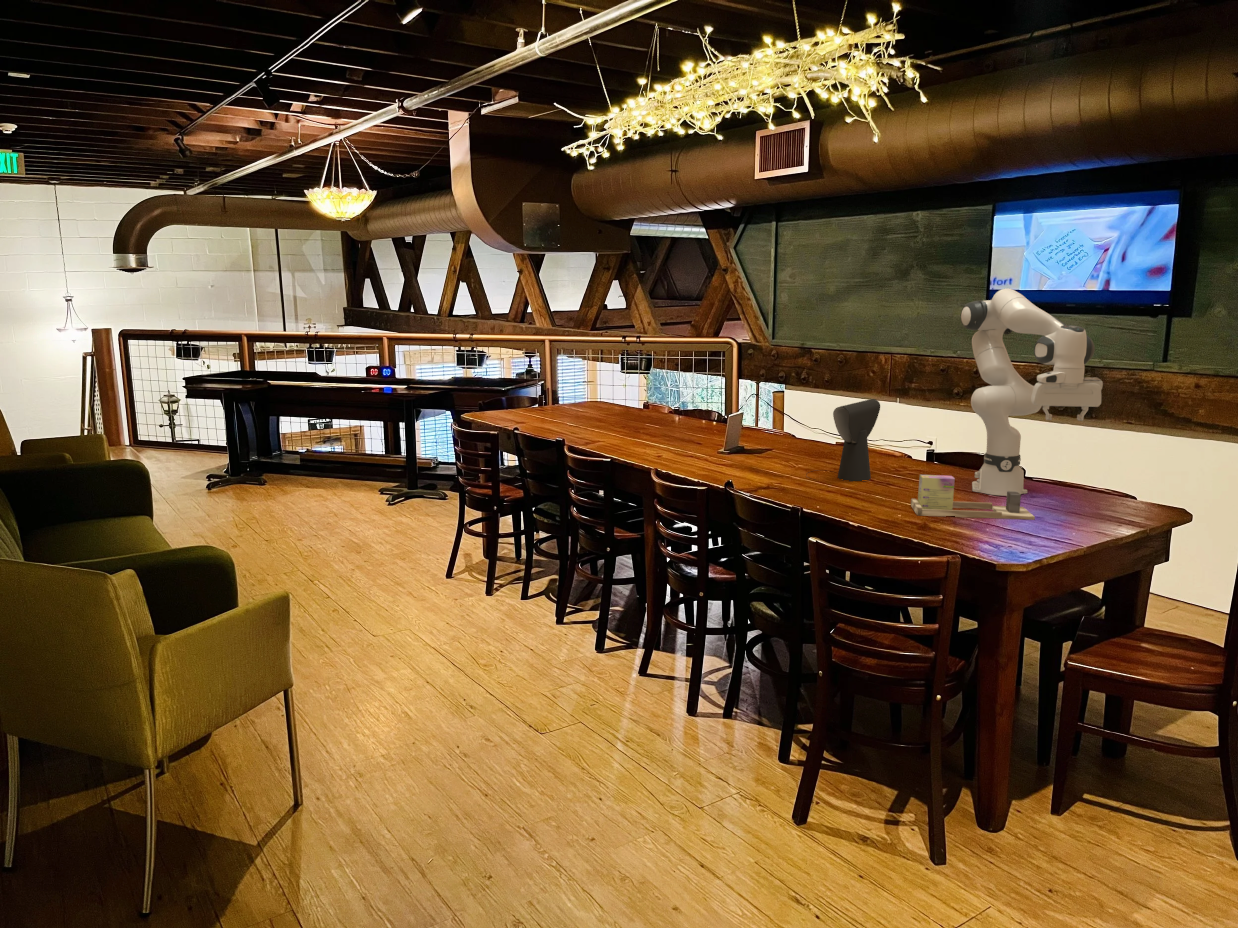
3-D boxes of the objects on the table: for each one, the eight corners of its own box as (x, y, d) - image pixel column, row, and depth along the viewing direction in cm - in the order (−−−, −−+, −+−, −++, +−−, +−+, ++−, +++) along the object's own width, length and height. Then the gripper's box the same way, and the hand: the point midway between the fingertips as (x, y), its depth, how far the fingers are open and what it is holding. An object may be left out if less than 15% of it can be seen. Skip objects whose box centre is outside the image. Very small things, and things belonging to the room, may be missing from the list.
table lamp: (883, 492, 324) (888, 411, 318) (805, 489, 329) (808, 409, 324) (876, 471, 362) (880, 398, 356) (806, 469, 368) (808, 397, 362)
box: (949, 509, 298) (951, 475, 295) (952, 513, 292) (955, 478, 290) (917, 508, 299) (919, 474, 297) (919, 512, 294) (921, 477, 292)
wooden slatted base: (910, 505, 303) (912, 485, 302) (1022, 509, 297) (1024, 489, 296) (917, 515, 290) (918, 494, 288) (1034, 519, 284) (1036, 498, 282)
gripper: (1099, 376, 284) (1095, 419, 286) (1031, 375, 287) (1028, 418, 290) (1106, 378, 278) (1102, 422, 280) (1037, 377, 281) (1033, 420, 284)
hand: (1064, 420), depth 285 cm, fingers open, 8 cm apart
